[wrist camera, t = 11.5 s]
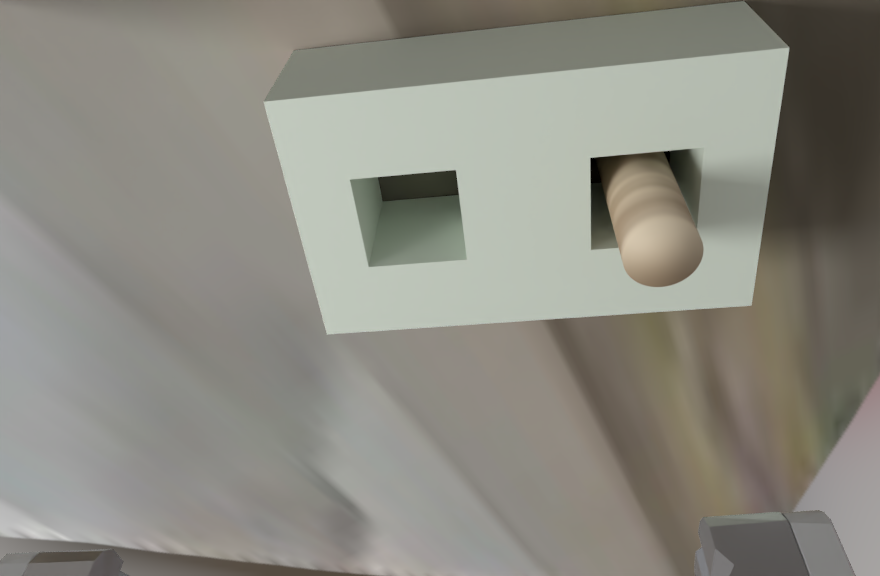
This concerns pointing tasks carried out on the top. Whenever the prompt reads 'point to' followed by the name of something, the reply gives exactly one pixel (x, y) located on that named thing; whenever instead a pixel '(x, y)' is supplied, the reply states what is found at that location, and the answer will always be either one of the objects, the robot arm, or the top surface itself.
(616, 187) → the peg
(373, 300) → the hole block
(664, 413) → the top surface
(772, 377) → the top surface
